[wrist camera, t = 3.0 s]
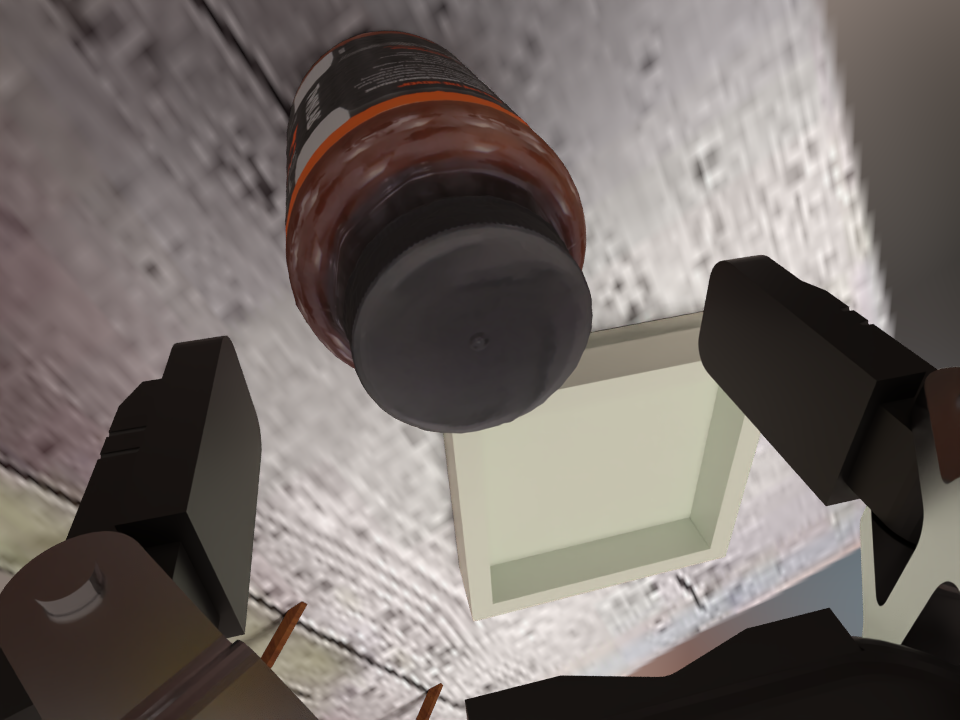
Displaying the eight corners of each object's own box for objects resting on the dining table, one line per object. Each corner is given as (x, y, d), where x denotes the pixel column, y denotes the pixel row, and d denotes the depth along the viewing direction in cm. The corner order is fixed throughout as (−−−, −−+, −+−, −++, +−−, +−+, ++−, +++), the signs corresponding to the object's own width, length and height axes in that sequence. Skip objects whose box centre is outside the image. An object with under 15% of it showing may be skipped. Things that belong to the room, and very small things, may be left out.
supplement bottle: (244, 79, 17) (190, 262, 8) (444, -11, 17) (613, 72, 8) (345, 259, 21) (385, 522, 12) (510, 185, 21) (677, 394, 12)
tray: (459, 568, 32) (472, 621, 29) (434, 362, 24) (449, 411, 21) (694, 511, 34) (725, 557, 31) (741, 304, 26) (786, 343, 24)
